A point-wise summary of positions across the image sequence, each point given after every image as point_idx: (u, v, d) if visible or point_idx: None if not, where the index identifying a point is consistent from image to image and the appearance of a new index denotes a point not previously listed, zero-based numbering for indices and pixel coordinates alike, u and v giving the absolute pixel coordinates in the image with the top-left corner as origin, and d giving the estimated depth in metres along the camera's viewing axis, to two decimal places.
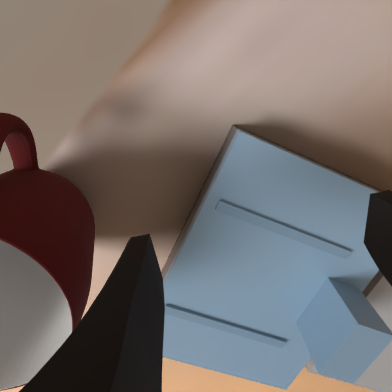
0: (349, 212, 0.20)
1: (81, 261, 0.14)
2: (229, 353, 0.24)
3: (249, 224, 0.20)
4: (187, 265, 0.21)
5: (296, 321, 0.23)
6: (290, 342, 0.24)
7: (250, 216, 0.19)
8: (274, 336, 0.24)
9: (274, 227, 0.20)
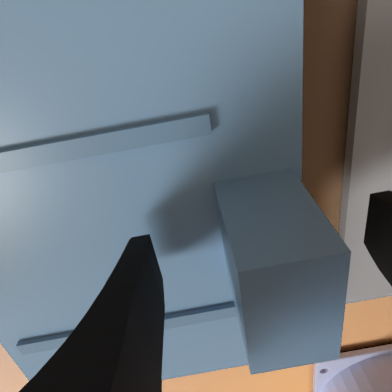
0: (134, 37, 0.08)
1: None
2: (171, 352, 0.15)
3: None
4: None
5: (227, 271, 0.13)
6: None
7: None
8: (213, 306, 0.14)
9: (25, 158, 0.10)
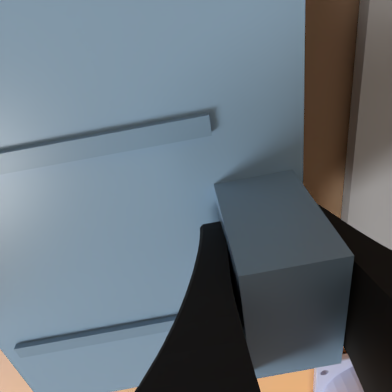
0: (133, 37, 0.08)
1: None
2: None
3: None
4: None
5: None
6: None
7: None
8: None
9: (22, 160, 0.09)
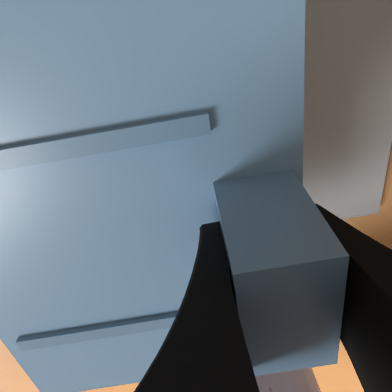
0: (133, 36, 0.08)
1: None
2: None
3: None
4: None
5: None
6: None
7: None
8: None
9: (23, 156, 0.10)
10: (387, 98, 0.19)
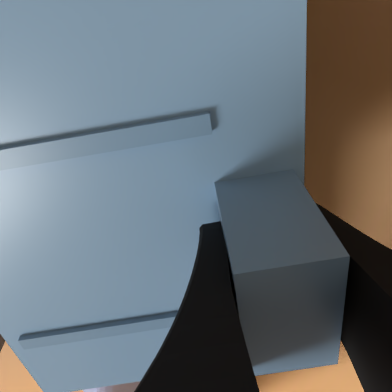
0: (135, 36, 0.08)
1: None
2: None
3: None
4: None
5: None
6: None
7: None
8: None
9: (25, 156, 0.10)
10: None
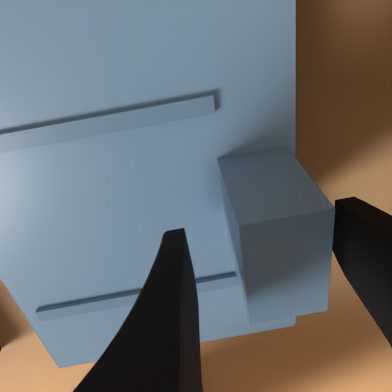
0: (149, 27, 0.10)
1: None
2: None
3: (18, 153, 0.11)
4: (7, 253, 0.13)
5: (229, 242, 0.14)
6: None
7: None
8: (215, 276, 0.15)
9: (51, 135, 0.11)
10: None
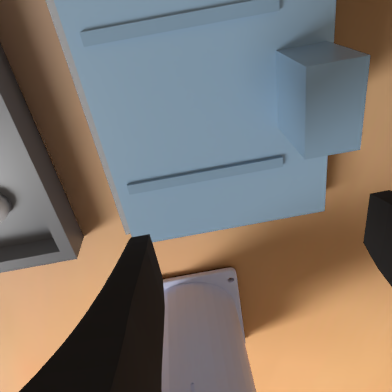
0: None
1: None
2: (232, 202, 0.21)
3: (135, 41, 0.16)
4: (113, 130, 0.18)
5: (278, 126, 0.18)
6: (289, 155, 0.19)
7: (126, 29, 0.15)
8: (266, 158, 0.19)
9: (162, 25, 0.15)
10: None
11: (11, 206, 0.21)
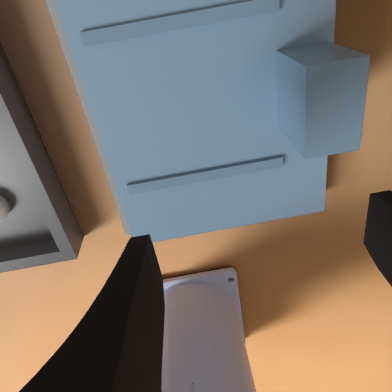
0: None
1: None
2: (232, 202, 0.21)
3: (136, 41, 0.16)
4: (113, 130, 0.18)
5: (278, 126, 0.18)
6: (290, 155, 0.19)
7: (126, 29, 0.15)
8: (266, 158, 0.19)
9: (162, 25, 0.15)
10: None
11: (11, 206, 0.21)
